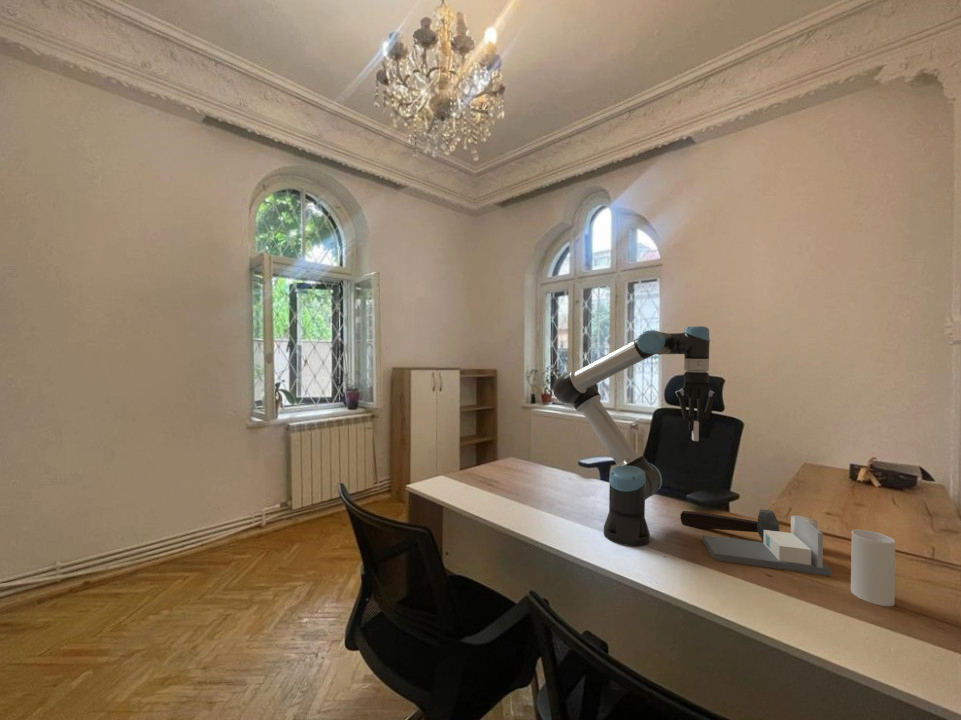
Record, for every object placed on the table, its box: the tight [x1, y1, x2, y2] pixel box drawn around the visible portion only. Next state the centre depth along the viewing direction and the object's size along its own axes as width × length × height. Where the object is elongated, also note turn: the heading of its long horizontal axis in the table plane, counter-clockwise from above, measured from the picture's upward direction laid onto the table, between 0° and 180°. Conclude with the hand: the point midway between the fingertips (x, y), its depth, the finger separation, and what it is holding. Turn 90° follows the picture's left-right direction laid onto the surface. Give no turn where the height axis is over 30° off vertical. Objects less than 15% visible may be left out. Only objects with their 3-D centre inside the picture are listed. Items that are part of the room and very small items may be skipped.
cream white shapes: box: [790, 515, 819, 534], centre depth 134 cm, size 7×7×9 cm
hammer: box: [680, 509, 781, 542], centre depth 143 cm, size 5×11×30 cm
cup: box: [850, 529, 896, 607], centre depth 105 cm, size 8×8×16 cm
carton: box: [762, 530, 811, 565], centre depth 124 cm, size 8×12×4 cm
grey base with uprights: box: [701, 514, 832, 577], centre depth 126 cm, size 30×14×12 cm, turn 74°
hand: (695, 440), depth 137 cm, fingers closed
